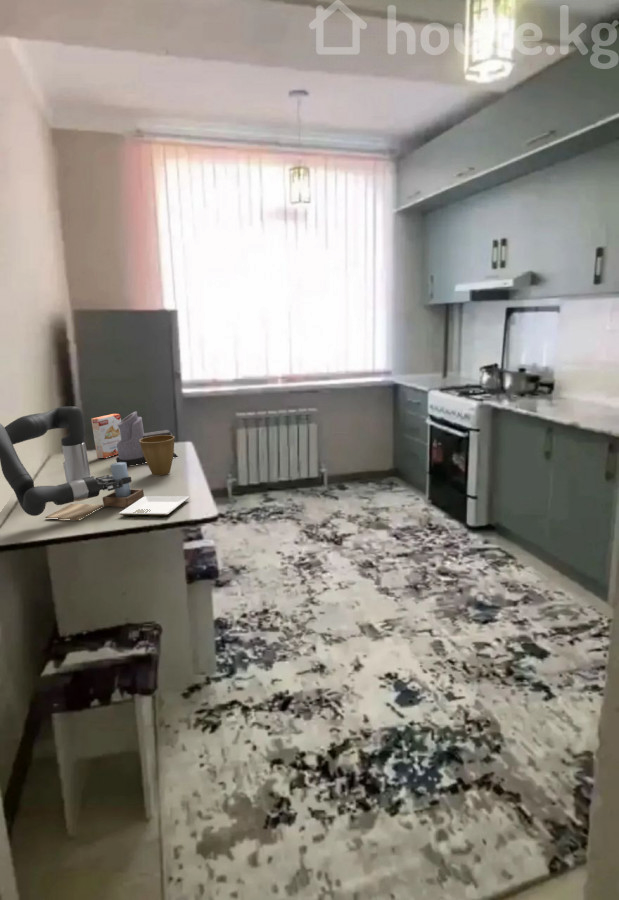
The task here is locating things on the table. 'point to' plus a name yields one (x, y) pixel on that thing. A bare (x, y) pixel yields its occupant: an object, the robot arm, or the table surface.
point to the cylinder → (117, 473)
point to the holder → (121, 501)
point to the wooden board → (74, 511)
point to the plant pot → (158, 453)
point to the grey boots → (134, 440)
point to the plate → (155, 505)
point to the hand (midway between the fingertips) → (126, 477)
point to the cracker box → (106, 434)
